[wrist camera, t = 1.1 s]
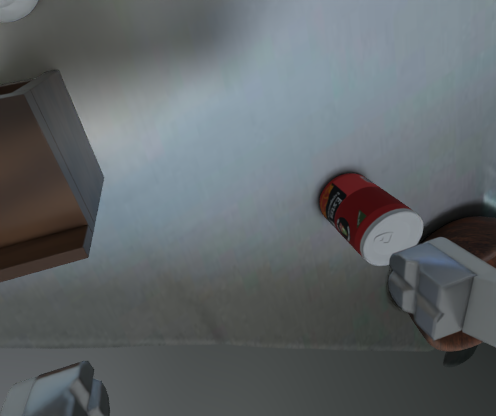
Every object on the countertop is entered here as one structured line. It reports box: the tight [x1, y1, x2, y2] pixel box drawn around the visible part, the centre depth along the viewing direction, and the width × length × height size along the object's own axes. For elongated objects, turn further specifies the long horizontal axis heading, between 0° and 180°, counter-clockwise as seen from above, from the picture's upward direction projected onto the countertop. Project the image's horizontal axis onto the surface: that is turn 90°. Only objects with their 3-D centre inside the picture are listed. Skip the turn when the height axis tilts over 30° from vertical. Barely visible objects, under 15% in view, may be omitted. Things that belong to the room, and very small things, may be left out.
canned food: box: [320, 173, 423, 266], centre depth 41 cm, size 8×8×11 cm
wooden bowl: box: [408, 216, 496, 351], centre depth 57 cm, size 25×25×10 cm
